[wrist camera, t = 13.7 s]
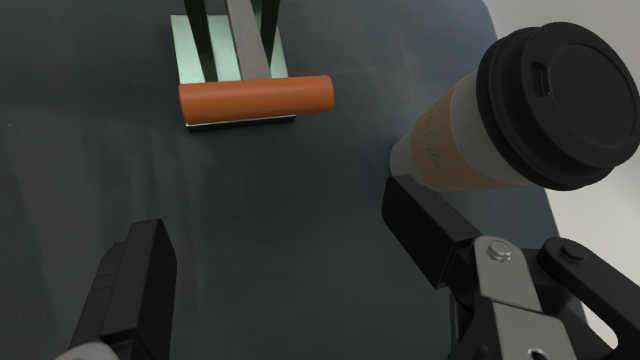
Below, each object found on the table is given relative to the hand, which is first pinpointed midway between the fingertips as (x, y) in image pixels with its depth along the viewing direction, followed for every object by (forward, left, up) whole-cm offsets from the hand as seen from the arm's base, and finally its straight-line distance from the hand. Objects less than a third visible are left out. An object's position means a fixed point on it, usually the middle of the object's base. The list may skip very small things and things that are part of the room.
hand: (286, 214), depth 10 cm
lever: (+1, +9, -3) cm, 10 cm away
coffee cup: (+16, +2, -14) cm, 21 cm away
